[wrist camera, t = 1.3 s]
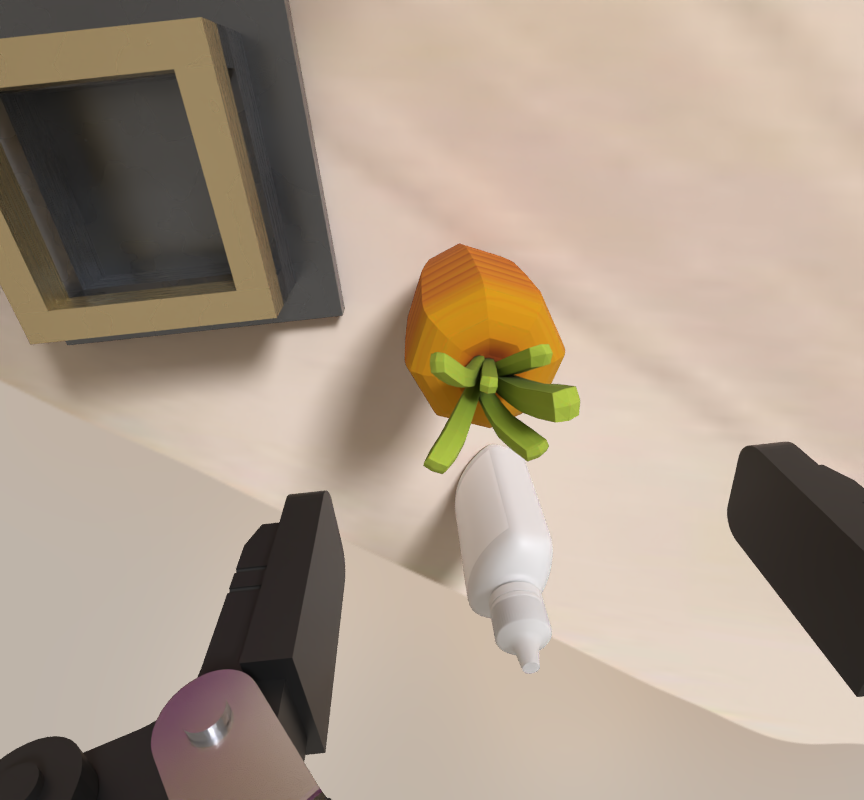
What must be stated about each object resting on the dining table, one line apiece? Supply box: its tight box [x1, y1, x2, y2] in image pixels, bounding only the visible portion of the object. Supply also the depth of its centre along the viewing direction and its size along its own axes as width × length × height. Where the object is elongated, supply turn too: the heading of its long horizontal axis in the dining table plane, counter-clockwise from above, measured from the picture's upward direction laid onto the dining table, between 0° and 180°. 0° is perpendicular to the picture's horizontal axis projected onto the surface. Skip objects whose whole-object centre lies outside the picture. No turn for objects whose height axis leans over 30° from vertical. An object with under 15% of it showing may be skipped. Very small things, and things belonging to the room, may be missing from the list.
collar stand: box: [0, 0, 345, 345], centre depth 20 cm, size 13×13×6 cm
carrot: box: [405, 244, 580, 474], centre depth 19 cm, size 5×5×15 cm
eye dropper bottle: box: [455, 444, 553, 674], centre depth 27 cm, size 4×6×12 cm
